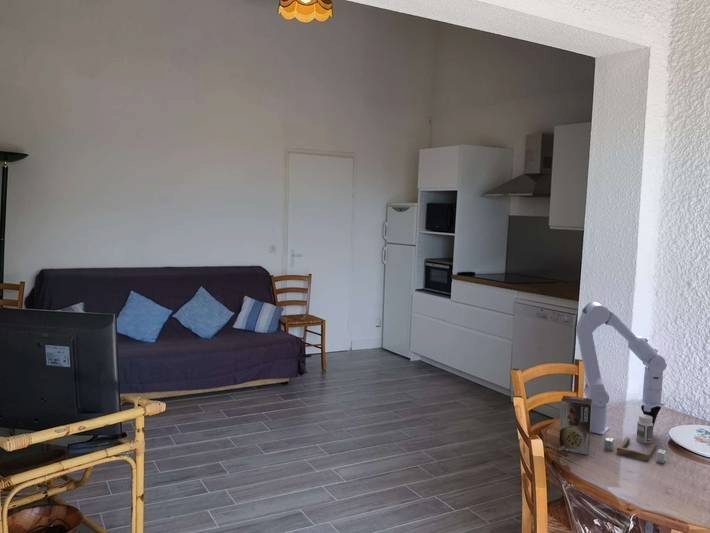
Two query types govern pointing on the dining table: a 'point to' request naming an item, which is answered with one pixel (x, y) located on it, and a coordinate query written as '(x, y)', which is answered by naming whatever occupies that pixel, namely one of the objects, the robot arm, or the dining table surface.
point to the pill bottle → (645, 429)
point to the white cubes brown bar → (635, 454)
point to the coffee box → (575, 424)
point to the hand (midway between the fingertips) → (649, 427)
